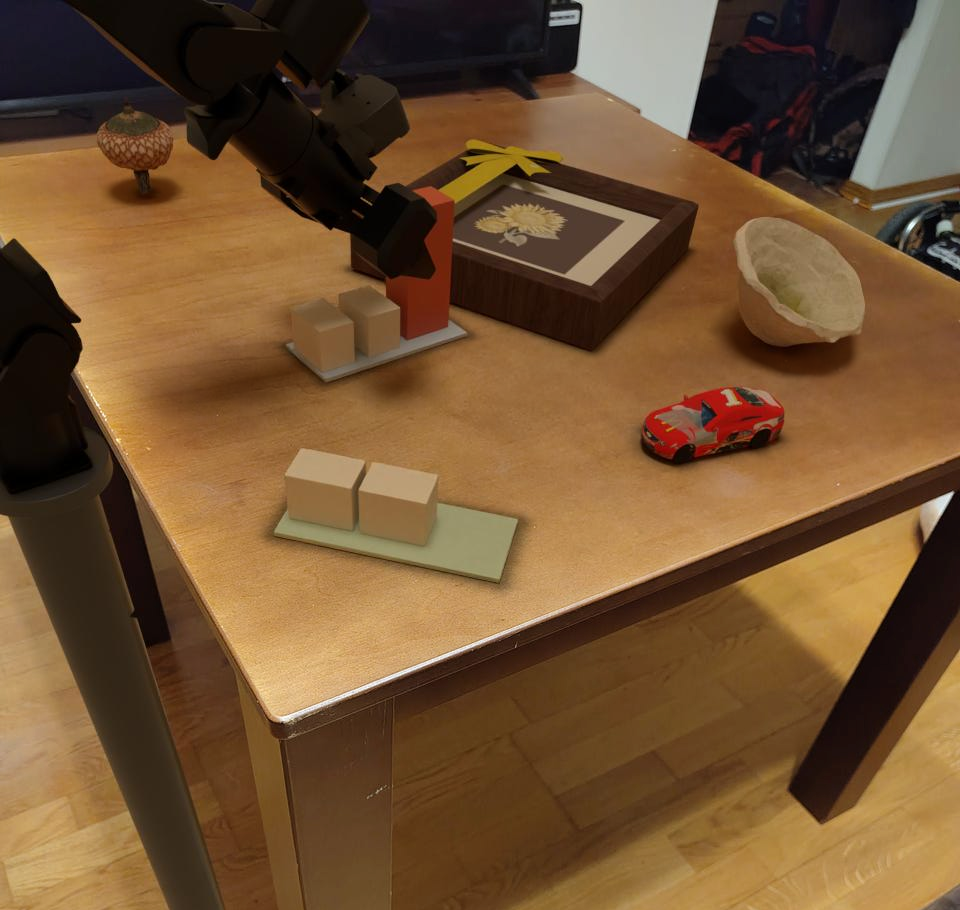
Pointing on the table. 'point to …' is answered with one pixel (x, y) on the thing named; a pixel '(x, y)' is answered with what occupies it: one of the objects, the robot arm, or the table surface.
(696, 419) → the race car
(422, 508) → the pale green base plate
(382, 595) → the table surface
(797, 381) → the table surface
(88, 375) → the table surface
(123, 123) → the acorn
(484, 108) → the table surface
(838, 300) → the bowl
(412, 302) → the orange upright bar
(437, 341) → the blocks on base plate
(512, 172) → the picture frame
